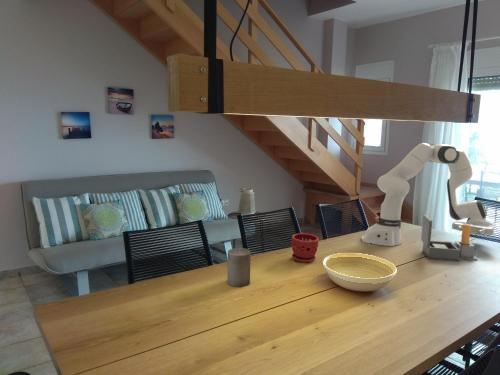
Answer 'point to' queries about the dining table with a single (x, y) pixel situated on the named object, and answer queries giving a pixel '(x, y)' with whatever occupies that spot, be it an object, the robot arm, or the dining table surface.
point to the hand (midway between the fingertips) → (470, 230)
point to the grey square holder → (466, 251)
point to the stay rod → (465, 234)
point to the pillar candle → (238, 267)
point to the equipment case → (437, 245)
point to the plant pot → (304, 247)
